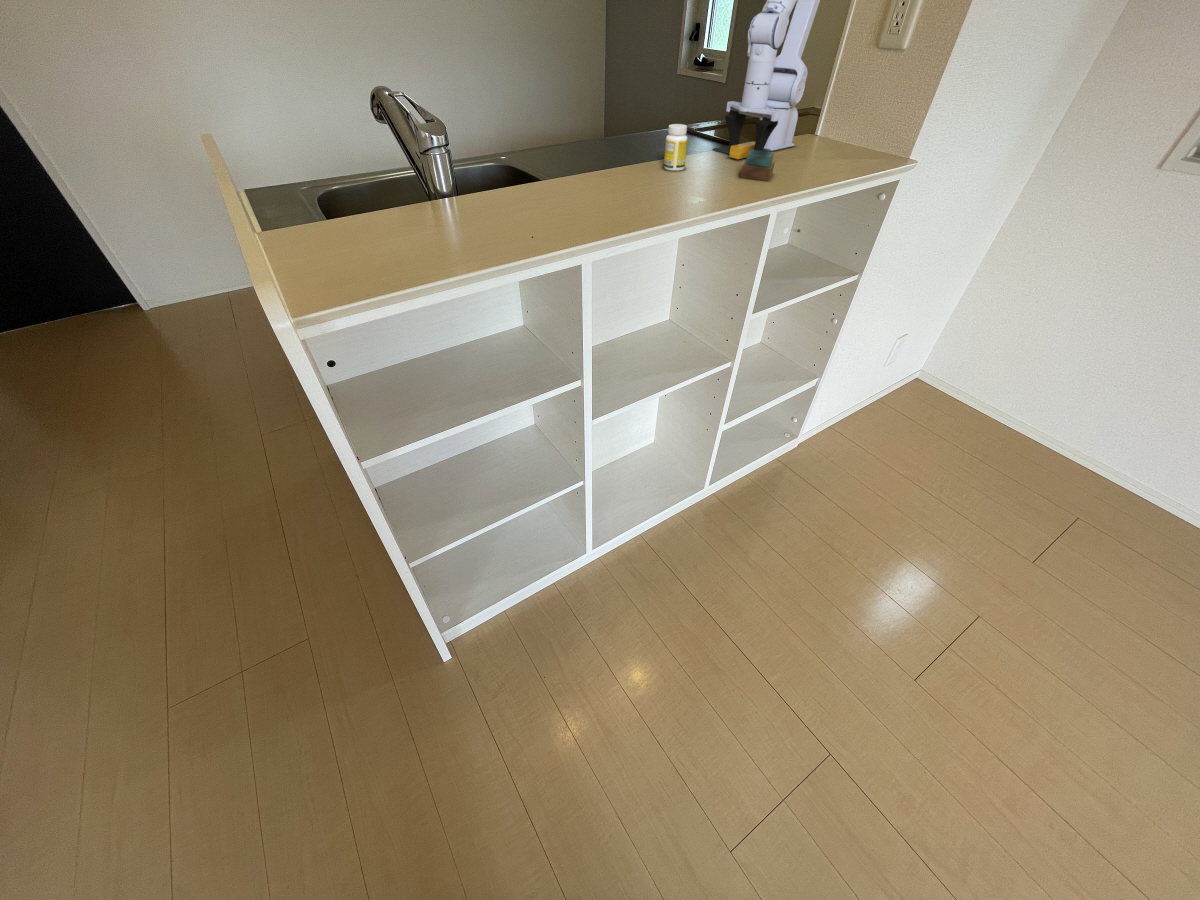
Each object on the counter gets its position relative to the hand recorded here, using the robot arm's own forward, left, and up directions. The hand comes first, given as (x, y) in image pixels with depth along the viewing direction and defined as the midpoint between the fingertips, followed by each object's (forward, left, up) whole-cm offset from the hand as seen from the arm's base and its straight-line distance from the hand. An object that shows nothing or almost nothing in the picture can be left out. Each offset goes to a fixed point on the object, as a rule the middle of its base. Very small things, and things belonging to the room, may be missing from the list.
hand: (745, 151), depth 123 cm
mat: (-6, -4, -1) cm, 7 cm away
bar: (0, 0, -1) cm, 1 cm away
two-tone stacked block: (+10, +13, -1) cm, 16 cm away
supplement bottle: (+21, -2, -2) cm, 21 cm away
